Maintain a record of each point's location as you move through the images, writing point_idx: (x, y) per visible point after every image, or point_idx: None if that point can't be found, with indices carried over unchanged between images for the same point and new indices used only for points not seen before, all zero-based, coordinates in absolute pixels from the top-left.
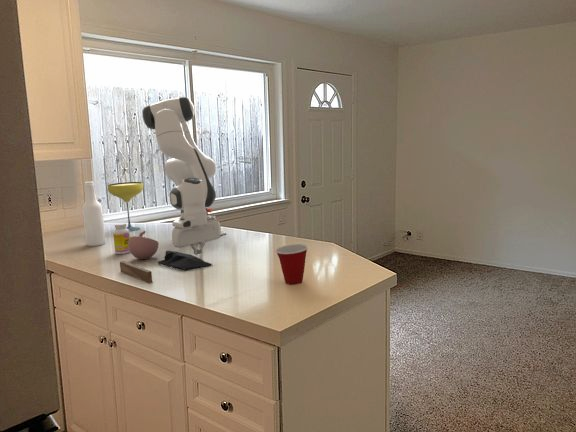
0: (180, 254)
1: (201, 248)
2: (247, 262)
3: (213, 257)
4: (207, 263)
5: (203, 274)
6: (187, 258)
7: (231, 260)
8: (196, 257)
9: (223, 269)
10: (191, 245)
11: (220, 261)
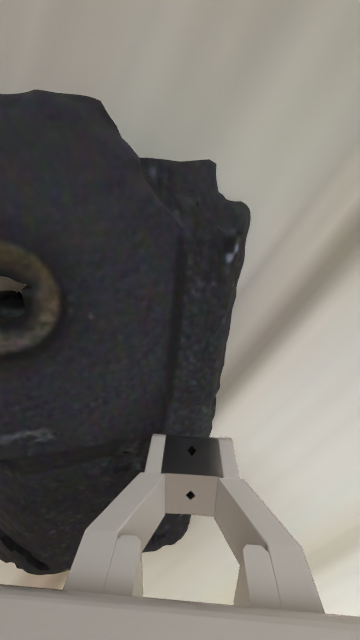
0: (10, 373)
1: (222, 530)
2: (336, 608)
3: (333, 405)
4: (145, 550)
5: (61, 587)
6: (21, 513)
7: (328, 538)
8: (177, 408)
9: (173, 599)
10: (79, 568)
11: (274, 509)
